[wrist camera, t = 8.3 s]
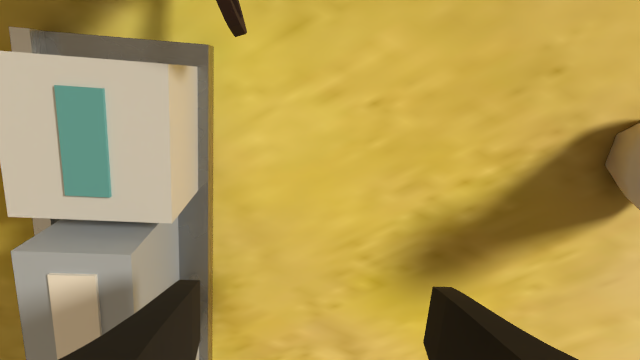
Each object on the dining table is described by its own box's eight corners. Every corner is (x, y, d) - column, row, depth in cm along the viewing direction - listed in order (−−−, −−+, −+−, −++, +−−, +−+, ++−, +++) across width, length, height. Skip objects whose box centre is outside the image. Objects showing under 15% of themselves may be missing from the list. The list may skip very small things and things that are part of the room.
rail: (211, 411, 24) (204, 443, 22) (78, 412, 24) (58, 445, 22) (213, 46, 19) (203, 43, 17) (39, 32, 18) (6, 26, 16)
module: (198, 190, 19) (170, 225, 15) (72, 184, 19) (4, 218, 14) (197, 66, 18) (166, 63, 13) (60, 55, 17) (-19, 49, 13)
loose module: (180, 306, 21) (137, 396, 15) (103, 304, 21) (28, 396, 15) (177, 201, 19) (129, 256, 14) (94, 197, 19) (7, 252, 13)
